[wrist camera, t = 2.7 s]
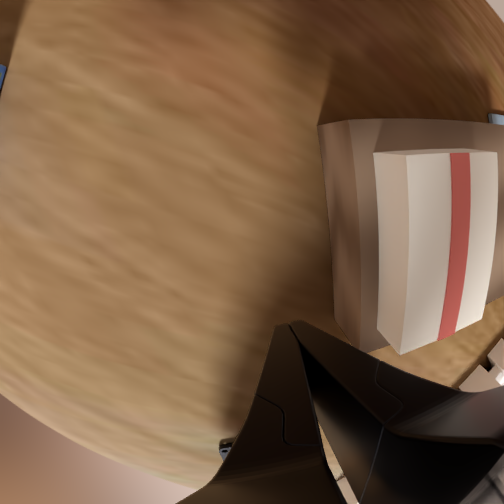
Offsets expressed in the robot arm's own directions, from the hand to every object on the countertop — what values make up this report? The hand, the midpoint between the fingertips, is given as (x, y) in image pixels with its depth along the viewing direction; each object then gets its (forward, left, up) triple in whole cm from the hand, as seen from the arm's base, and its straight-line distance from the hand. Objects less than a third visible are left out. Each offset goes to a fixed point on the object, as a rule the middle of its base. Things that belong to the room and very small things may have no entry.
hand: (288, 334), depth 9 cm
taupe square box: (0, -12, -8) cm, 14 cm away
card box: (0, -9, -4) cm, 10 cm away
